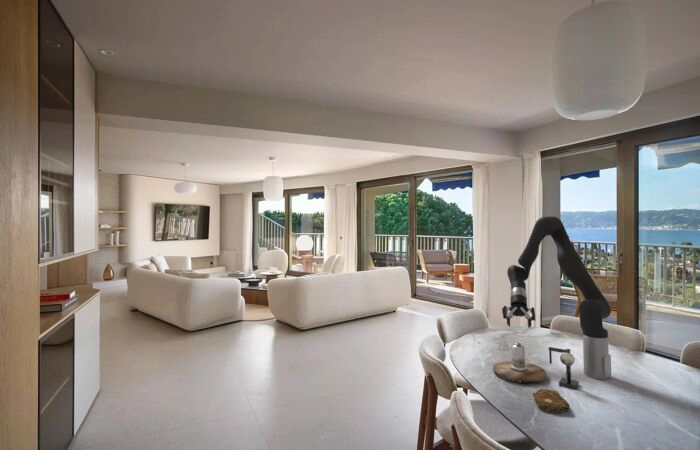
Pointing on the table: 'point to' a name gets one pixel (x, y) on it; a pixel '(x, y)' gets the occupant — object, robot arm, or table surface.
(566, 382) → the stand
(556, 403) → the decorative rock
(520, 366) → the cover
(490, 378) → the table surface
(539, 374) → the disc
